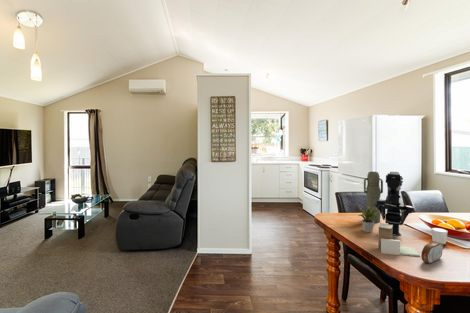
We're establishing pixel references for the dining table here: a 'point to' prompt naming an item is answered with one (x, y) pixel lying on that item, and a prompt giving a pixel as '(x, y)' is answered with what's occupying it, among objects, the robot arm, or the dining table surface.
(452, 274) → the dining table surface
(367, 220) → the house plant
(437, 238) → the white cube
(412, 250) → the pad
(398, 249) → the low screen
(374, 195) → the thermos
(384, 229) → the marked block
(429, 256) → the tin
